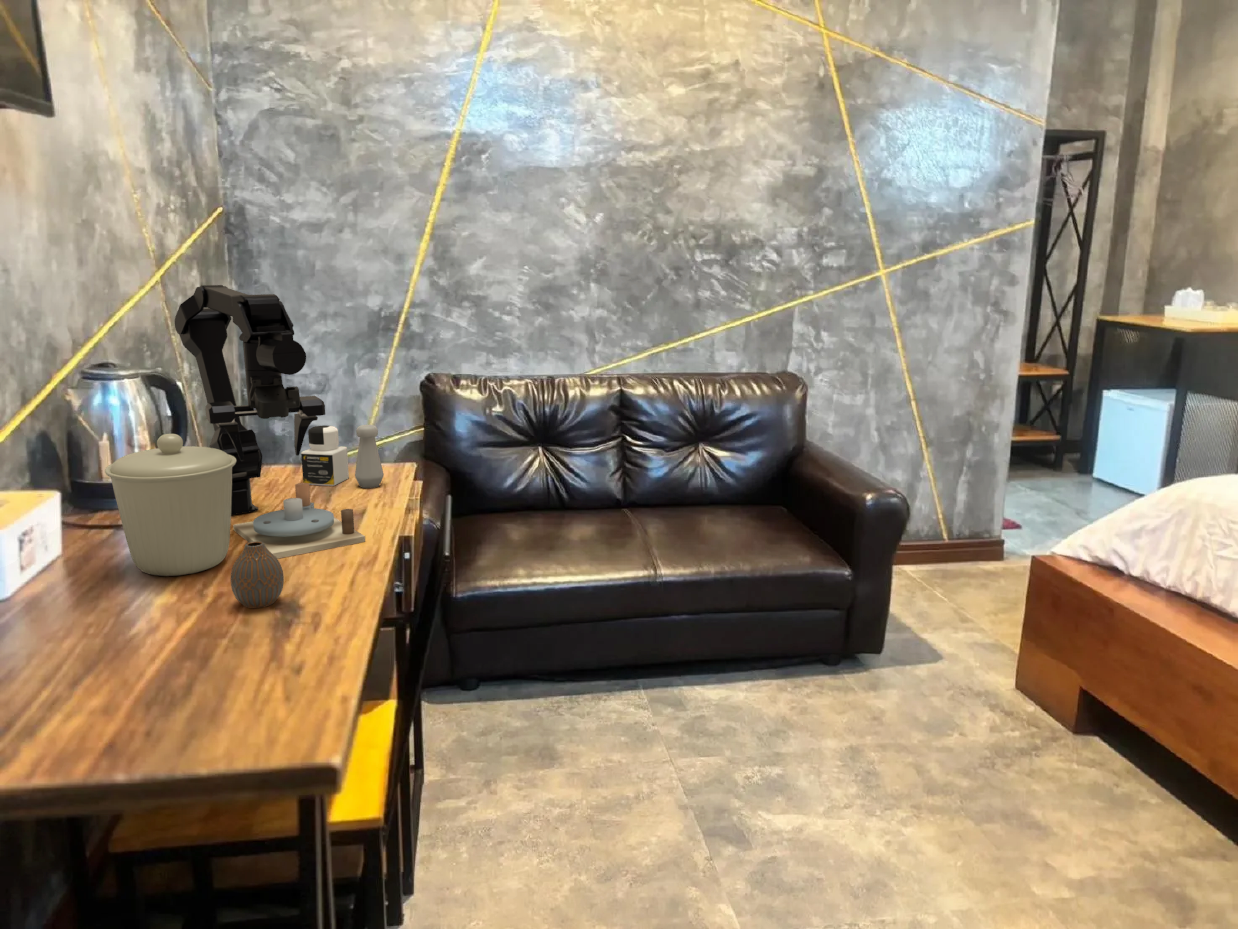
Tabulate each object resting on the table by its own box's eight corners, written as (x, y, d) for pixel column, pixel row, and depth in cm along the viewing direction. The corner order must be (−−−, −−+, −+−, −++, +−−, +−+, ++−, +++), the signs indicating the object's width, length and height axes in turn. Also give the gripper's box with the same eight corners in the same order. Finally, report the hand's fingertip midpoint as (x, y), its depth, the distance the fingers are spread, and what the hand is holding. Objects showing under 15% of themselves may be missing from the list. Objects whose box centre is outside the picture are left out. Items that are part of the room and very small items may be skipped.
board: (233, 530, 161) (231, 502, 159) (322, 515, 170) (320, 489, 169) (269, 560, 145) (267, 530, 144) (365, 541, 155) (363, 513, 154)
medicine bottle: (302, 484, 192) (298, 429, 189) (318, 476, 199) (315, 423, 196) (334, 486, 191) (330, 430, 188) (349, 478, 198) (346, 424, 195)
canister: (99, 565, 142) (83, 433, 137) (215, 540, 155) (203, 419, 150) (144, 595, 130) (127, 451, 125) (265, 565, 143) (254, 434, 138)
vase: (235, 615, 123) (229, 554, 121) (230, 598, 129) (225, 540, 127) (288, 607, 126) (284, 547, 124) (281, 591, 132) (277, 533, 130)
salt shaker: (379, 489, 189) (376, 428, 186) (352, 489, 189) (348, 427, 186) (387, 482, 194) (384, 423, 192) (360, 482, 195) (357, 422, 192)
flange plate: (327, 535, 150) (325, 506, 149) (245, 537, 148) (242, 508, 147) (342, 508, 166) (340, 481, 165) (268, 510, 164) (266, 483, 163)
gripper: (210, 378, 143) (218, 473, 147) (330, 371, 153) (335, 461, 156) (201, 369, 153) (209, 460, 156) (315, 364, 162) (320, 449, 166)
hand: (270, 457), depth 158 cm, fingers open, 9 cm apart
